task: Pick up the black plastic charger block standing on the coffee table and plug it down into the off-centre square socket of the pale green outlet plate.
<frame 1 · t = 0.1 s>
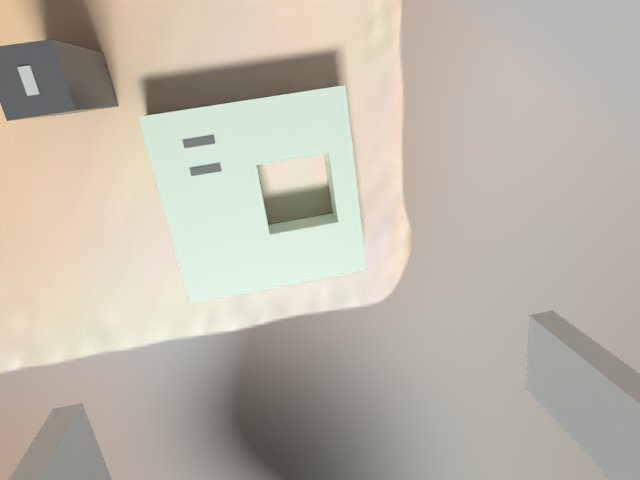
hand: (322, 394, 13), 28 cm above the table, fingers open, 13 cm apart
outlet plate: (262, 193, 39), on the table
charger block: (84, 83, 34), on the table
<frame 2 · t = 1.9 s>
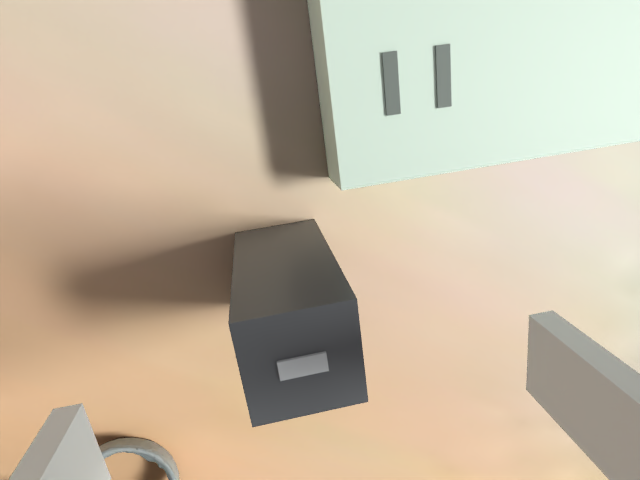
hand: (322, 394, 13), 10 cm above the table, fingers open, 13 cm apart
charger block: (281, 262, 22), on the table
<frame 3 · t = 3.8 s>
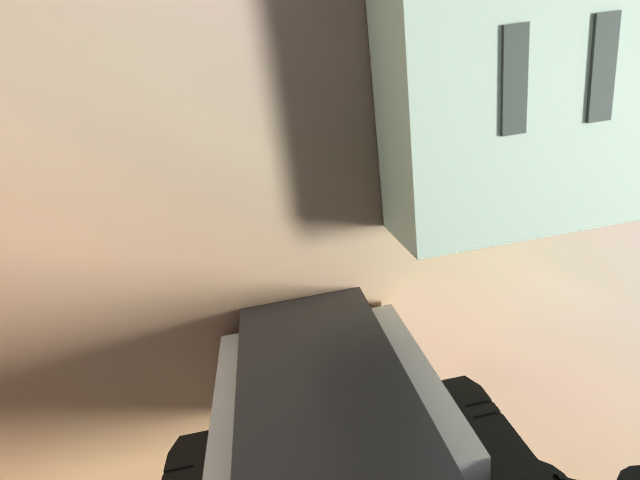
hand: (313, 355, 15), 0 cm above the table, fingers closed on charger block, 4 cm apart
charger block: (308, 349, 15), on the table, touching gripper
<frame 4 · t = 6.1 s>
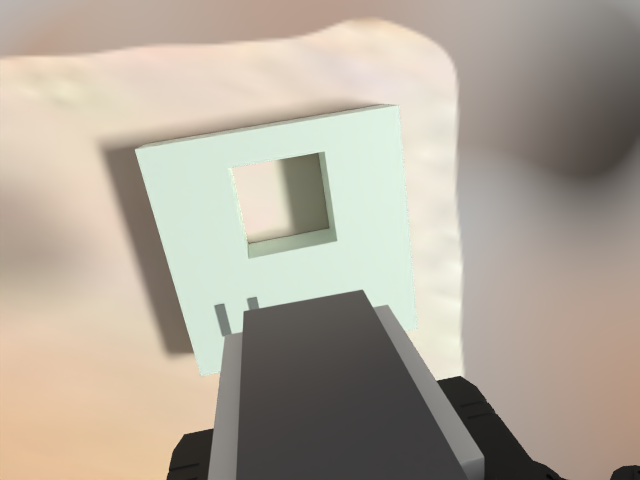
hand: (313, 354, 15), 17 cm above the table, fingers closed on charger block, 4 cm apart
outlet plate: (289, 236, 31), on the table
charger block: (312, 351, 15), point 17 cm above the table, touching gripper
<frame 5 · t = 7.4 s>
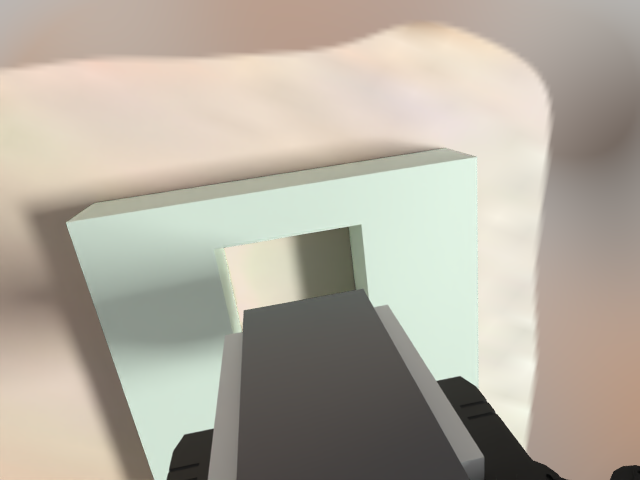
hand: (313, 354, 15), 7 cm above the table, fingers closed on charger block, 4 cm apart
outlet plate: (301, 328, 22), on the table
charger block: (312, 350, 15), point 7 cm above the table, touching gripper
when the fingers open (4 cm above the table, at t = 8.4 s): charger block drops 3 cm, resting in outlet plate.
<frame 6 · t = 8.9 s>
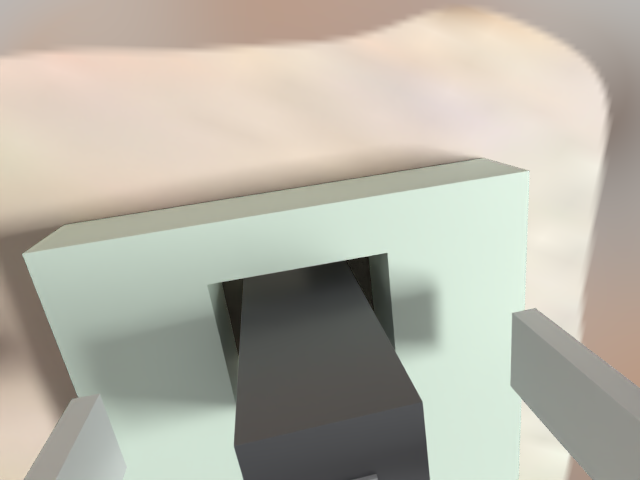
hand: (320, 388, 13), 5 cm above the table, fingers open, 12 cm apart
outlet plate: (312, 366, 19), on the table
charger block: (301, 306, 18), resting in outlet plate
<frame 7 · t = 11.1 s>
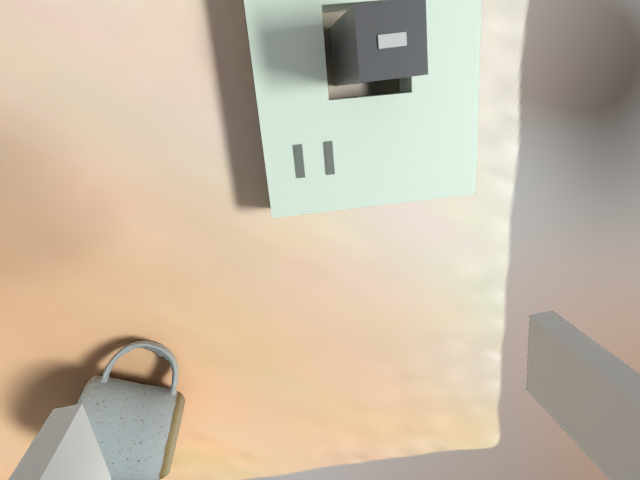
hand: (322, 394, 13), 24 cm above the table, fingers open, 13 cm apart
outlet plate: (361, 96, 33), on the table
charger block: (359, 54, 32), resting in outlet plate
ceramic mug: (139, 386, 40), on the table
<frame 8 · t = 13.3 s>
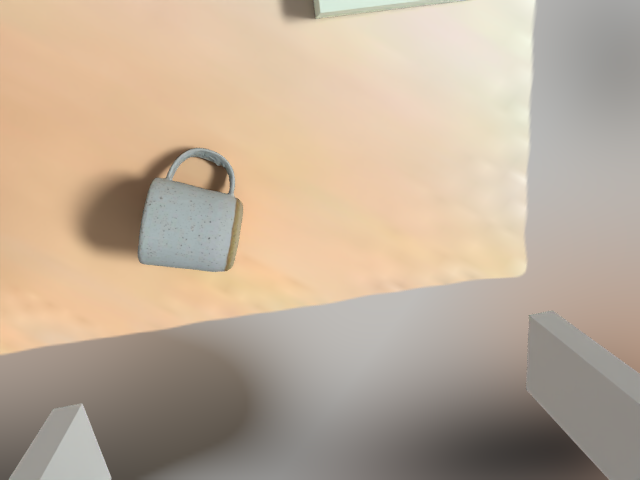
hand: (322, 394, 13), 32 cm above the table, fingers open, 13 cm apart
ceramic mug: (197, 202, 42), on the table
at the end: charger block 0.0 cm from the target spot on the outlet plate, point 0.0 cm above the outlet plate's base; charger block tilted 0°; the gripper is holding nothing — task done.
